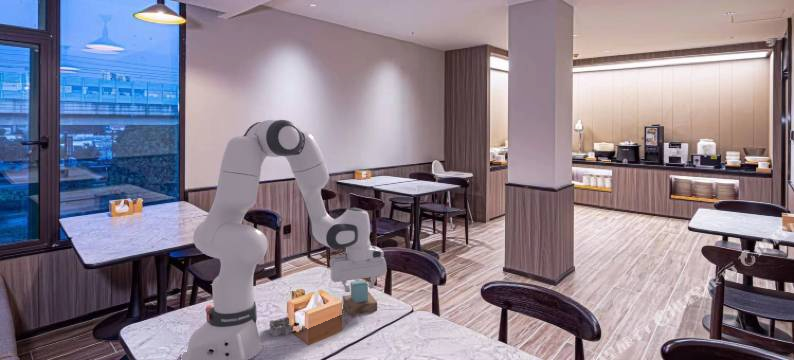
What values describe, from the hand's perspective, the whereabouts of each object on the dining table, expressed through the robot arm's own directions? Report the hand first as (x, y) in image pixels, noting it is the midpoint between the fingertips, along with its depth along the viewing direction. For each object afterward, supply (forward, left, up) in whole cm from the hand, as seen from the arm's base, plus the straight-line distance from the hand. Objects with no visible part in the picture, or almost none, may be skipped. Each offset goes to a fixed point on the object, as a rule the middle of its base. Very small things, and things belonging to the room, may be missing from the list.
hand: (359, 289), depth 158 cm
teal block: (0, 0, -4) cm, 4 cm away
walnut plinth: (0, 0, -7) cm, 7 cm away
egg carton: (-27, -8, -7) cm, 29 cm away
